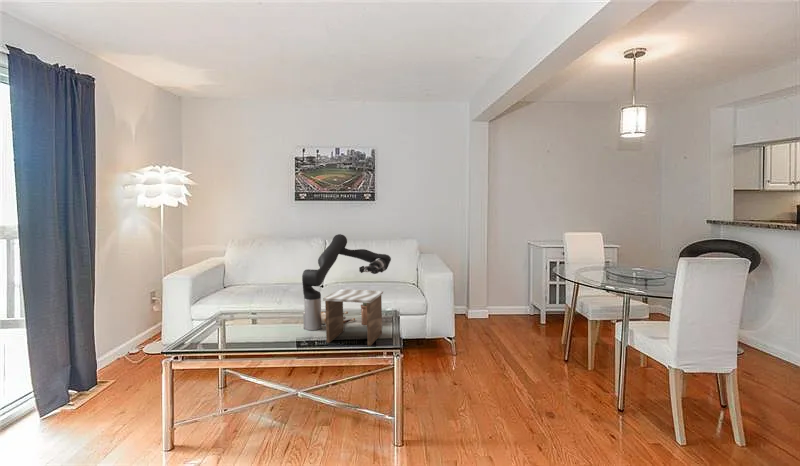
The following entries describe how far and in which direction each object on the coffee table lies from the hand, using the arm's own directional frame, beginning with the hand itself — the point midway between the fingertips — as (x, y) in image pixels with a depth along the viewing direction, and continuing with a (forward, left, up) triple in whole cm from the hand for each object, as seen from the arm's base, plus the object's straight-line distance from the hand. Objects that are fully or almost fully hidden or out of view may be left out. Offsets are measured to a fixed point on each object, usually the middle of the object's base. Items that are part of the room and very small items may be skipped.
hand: (368, 271), depth 277 cm
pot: (0, -4, -30) cm, 30 cm away
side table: (+2, -30, -30) cm, 43 cm away
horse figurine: (-20, +5, -25) cm, 32 cm away
